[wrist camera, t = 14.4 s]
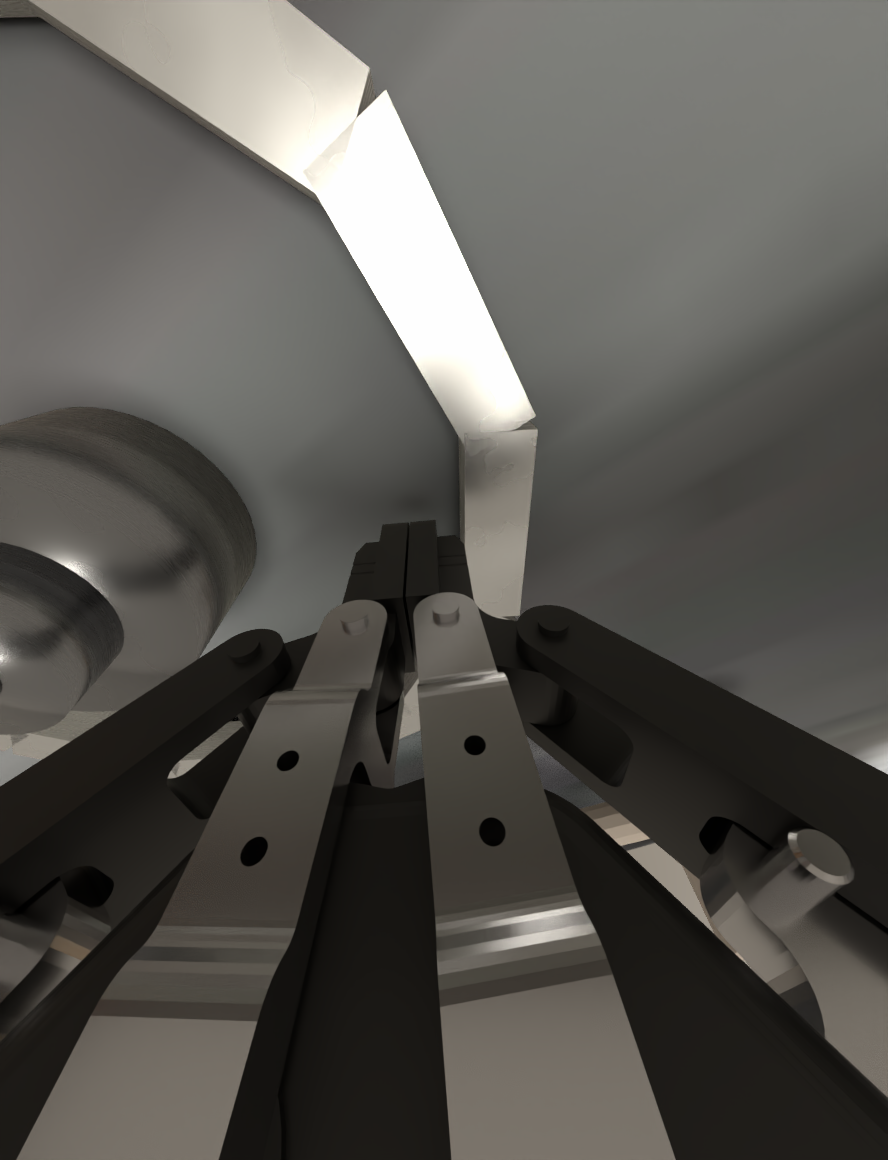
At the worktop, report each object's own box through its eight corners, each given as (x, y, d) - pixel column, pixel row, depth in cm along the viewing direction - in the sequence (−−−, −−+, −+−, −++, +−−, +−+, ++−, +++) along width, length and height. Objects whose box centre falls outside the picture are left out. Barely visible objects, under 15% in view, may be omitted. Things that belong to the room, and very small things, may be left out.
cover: (206, 397, 12) (-25, 498, 6) (283, 603, 16) (201, 782, 10) (-60, 415, 12) (-597, 537, 6) (91, 617, 16) (-108, 807, 10)
